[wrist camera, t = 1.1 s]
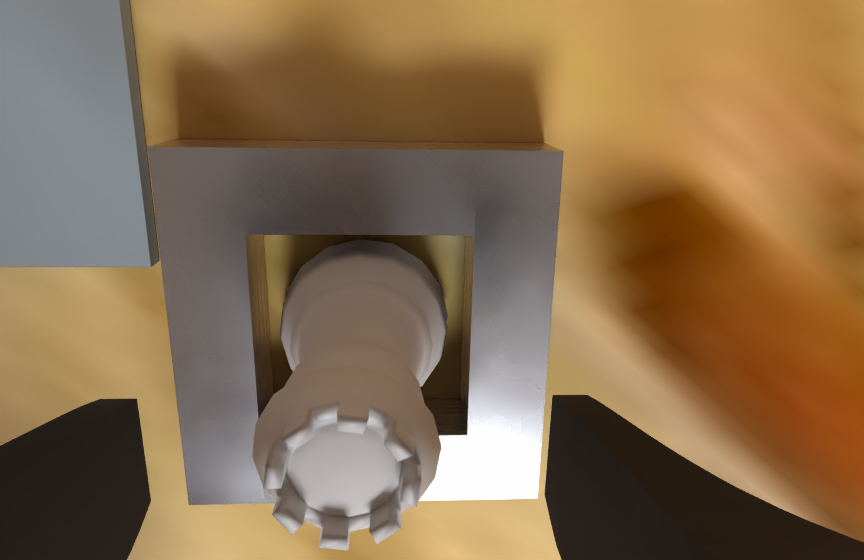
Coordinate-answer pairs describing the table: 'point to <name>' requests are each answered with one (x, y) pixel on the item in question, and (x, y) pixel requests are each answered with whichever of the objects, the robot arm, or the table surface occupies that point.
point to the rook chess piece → (354, 393)
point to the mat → (72, 138)
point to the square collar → (358, 215)
